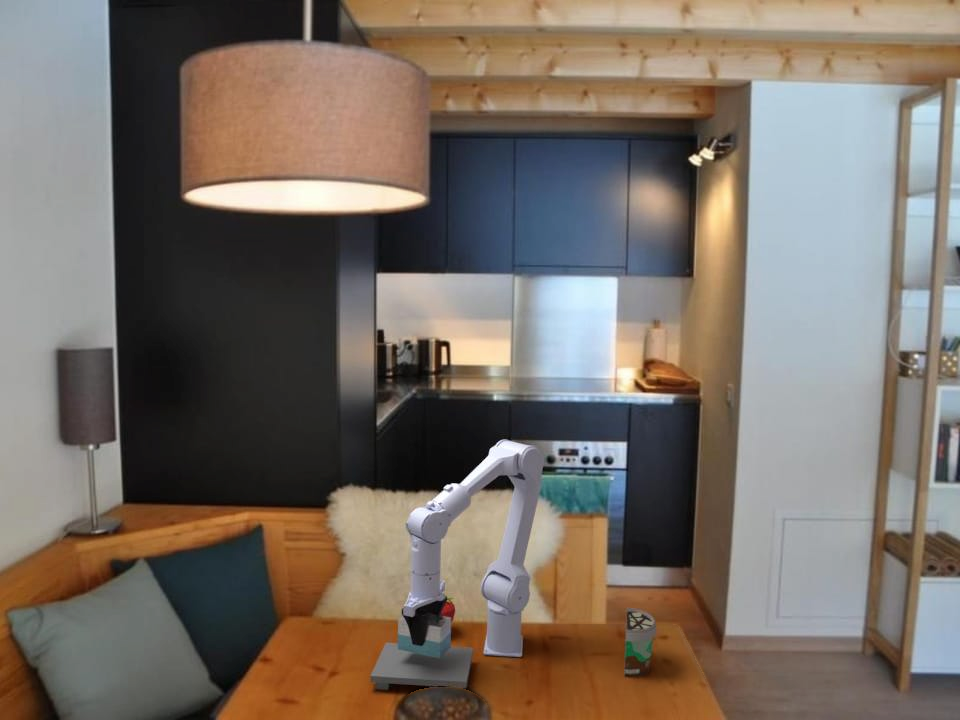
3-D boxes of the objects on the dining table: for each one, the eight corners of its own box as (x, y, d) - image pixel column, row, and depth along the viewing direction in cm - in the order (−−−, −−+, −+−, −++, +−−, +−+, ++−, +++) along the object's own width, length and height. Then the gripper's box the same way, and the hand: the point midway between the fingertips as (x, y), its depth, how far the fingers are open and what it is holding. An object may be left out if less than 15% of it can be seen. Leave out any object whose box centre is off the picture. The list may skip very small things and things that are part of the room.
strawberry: (426, 641, 160) (427, 596, 159) (429, 626, 167) (430, 583, 167) (454, 642, 160) (454, 597, 159) (455, 627, 167) (456, 584, 167)
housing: (409, 638, 148) (410, 608, 148) (450, 647, 145) (451, 616, 145) (397, 649, 144) (398, 617, 143) (439, 658, 140) (440, 625, 140)
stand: (385, 656, 152) (385, 642, 152) (472, 662, 151) (472, 647, 151) (370, 691, 138) (370, 675, 138) (465, 697, 137) (466, 682, 137)
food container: (656, 684, 144) (658, 634, 143) (624, 680, 145) (626, 630, 144) (654, 655, 156) (656, 609, 155) (624, 652, 157) (626, 606, 156)
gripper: (428, 586, 135) (426, 658, 136) (459, 562, 149) (457, 627, 149) (393, 580, 138) (392, 651, 139) (427, 556, 151) (426, 621, 152)
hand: (424, 638), depth 144 cm, fingers closed on housing, 5 cm apart
